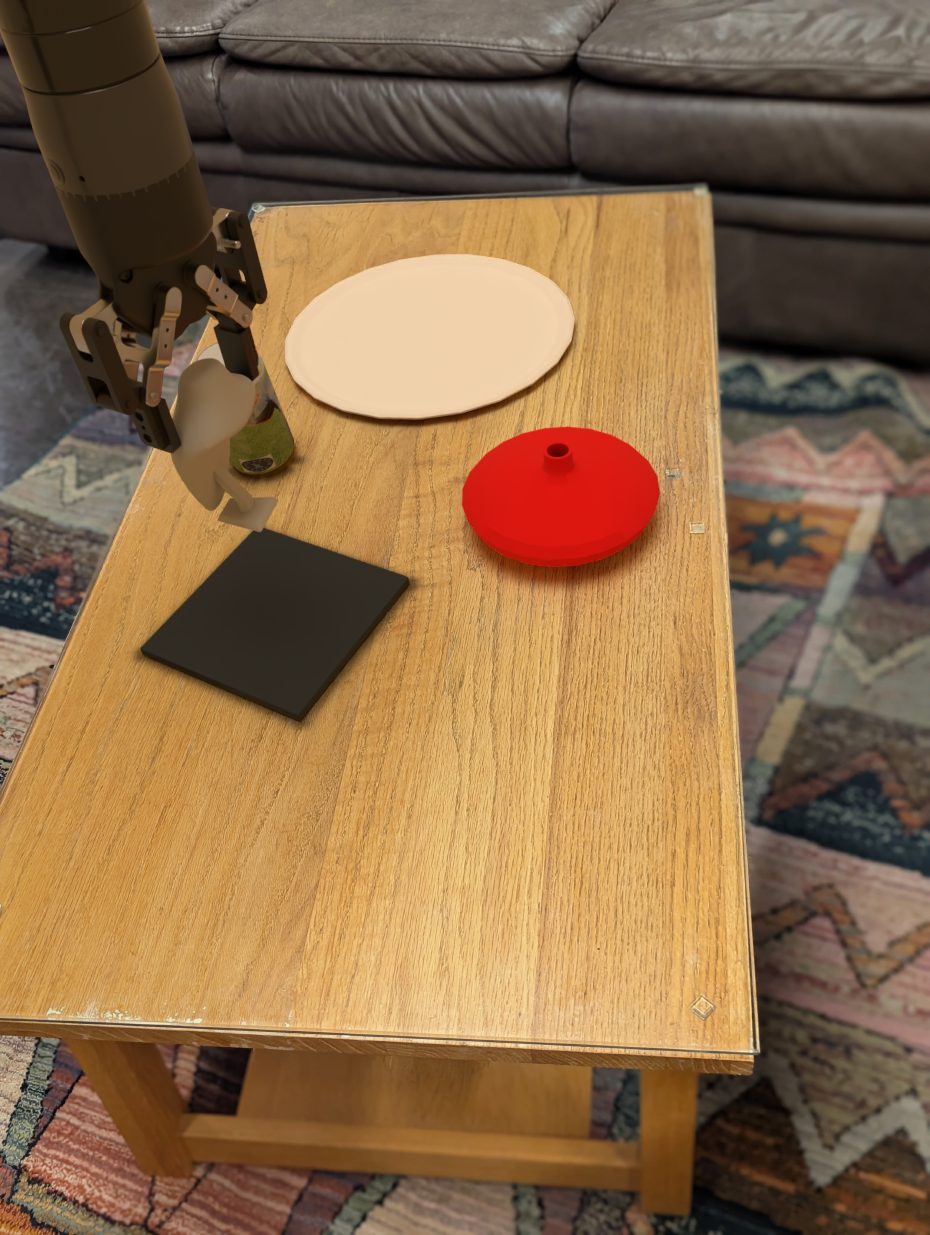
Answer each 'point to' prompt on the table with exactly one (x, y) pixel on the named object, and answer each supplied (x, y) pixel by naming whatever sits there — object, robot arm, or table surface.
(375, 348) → the plate
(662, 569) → the table surface
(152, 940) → the table surface
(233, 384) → the grey rounded body
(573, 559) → the red disc with nozzle
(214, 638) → the mat
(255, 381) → the beverage can
